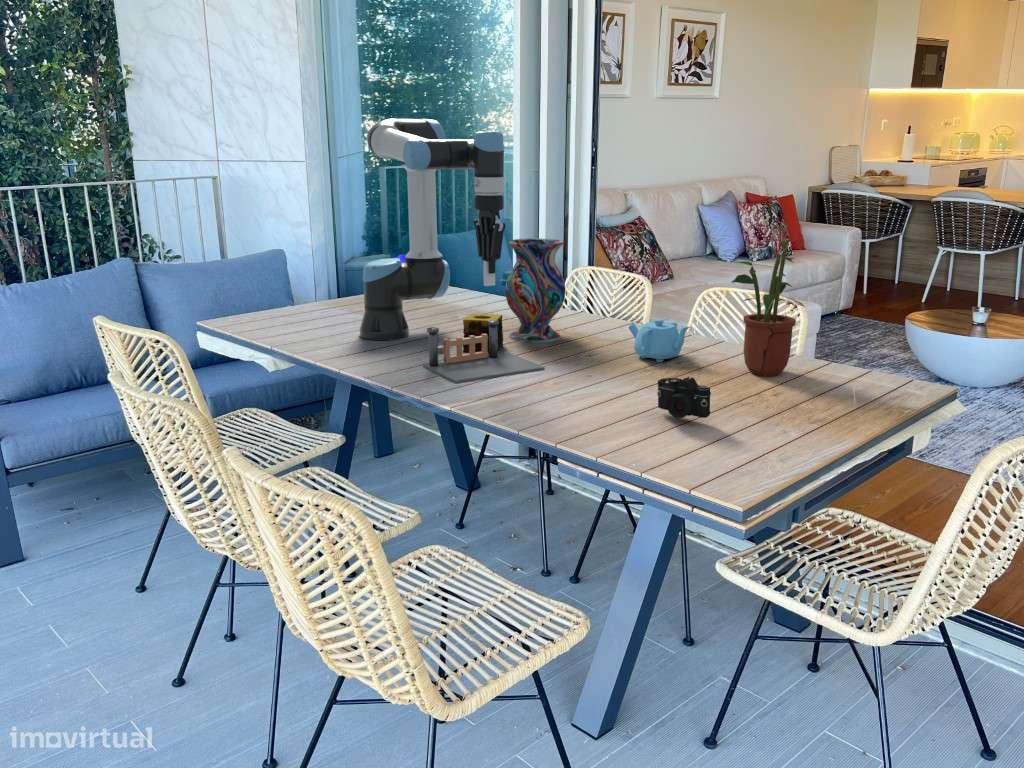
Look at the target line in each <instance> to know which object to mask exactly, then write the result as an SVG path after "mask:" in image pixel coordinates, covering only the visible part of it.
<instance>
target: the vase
mask: <svg viewBox="0 0 1024 768" xmlns="http://www.w3.org/2000/svg"><path fill="white" fill-rule="evenodd" d="M563 244H564V241H562V240H560V239H555V238H541V237H540V238H537V237H536V238H531V237H530V238H517V239H516V238H515V239H511V240H509V241H508V245H509V246H510V247H511V248H512V250H513V251H514V253H515V260H516V261H515V262H514V263H515V264H514V266H513V267H512V269H511V271H510V272H509V274H508V276H507V278H506V283H505V290H504V291H505V299H506V302H507V306H509V307H508V308H509V309H510V310H511V312H512V313H513V314H514V315H515V316H516V317H517V318H518V321H519V323H520V325H519V326H518V328H516V329H515V330H514V331H512V332H511V333H510V334H509V335H508V338H509V339H510V340H513V341H516V342H521V343H529V344H530V343H532V344H541V343H542V344H543V343H549V342H554V341H558V340H559V339H560V338H561V337H562V336H561V334H560V333H558V332H557V331H556V330H554V329H553V328H552V327H551V325H550V323H551V321H552V319H553V318H554V317H555V316H556V315H557V314H558V312H559V311H560V309H562V306H563V304H564V301H565V297H566V296H565V295H566V285H565V279H564V276H563V275H562V272H561V270H559V267H558V265H557V263H556V254H557V252H558V250H559V249H560V248H561V247H562V245H563Z"/></svg>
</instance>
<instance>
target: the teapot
mask: <svg viewBox="0 0 1024 768" xmlns="http://www.w3.org/2000/svg"><path fill="white" fill-rule="evenodd" d="M664 321H665V320H664V319H661V318H656V319H654V320H653V321H651V322H647V323H643V324H642V325H641V326H640V327H639V328H638V327H637V325H636V324H635V323H633V324H632V323H631V324H630V325H629V326H628V330H629V331H630V333H631V334H632V335H633V338H635V339H634V344H633V349H634V352H635V353H636V354H637V355H638V356H640V357H641V358H640V359H642V358H647V359H648V358H650V359H655V362H656V361H657V363H663V361H664V360H668V359H672V358H675V357H677V356H678V355H679V354H680V353H681V352H682V347H683V345H684V344H685V338H686V337H685V336H686V332H687V330H689V329H690V328H691V326H684V327H682V328H681V329H680V331H679V330H678V322H671V323H666V322H664Z"/></svg>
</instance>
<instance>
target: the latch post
mask: <svg viewBox="0 0 1024 768" xmlns="http://www.w3.org/2000/svg"><path fill="white" fill-rule="evenodd" d="M439 332H440V328H439V327H435V326H434V327H433V326H431V327H428V328H426V333H428V361H429V362H428V364H429V366H431V367H436V366H438V362H439V355H444V346H443V345H439V344H438V343H439V339H438V338H439V336H438V333H439Z"/></svg>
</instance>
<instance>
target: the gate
mask: <svg viewBox="0 0 1024 768" xmlns="http://www.w3.org/2000/svg"><path fill="white" fill-rule="evenodd" d="M481 342H482V352H475V343H481ZM487 342H488V336H487V334H482V336H476V337H475V336H474V335H471V336H469V337H468V338H464V337H462V336H456V338H454V339H453V338H452V339H450V338H443V341H442V343H443V345H442V346H444V354H443V362H444V363H452V362H459V361H466V360H473V359H480V358H487V357H488V355H489V354H488V348H487ZM466 344H469V353H463V345H466ZM451 347H456V354H455V355H454V354H453V355H451V354H450V353H451V350H450V349H451Z"/></svg>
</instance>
